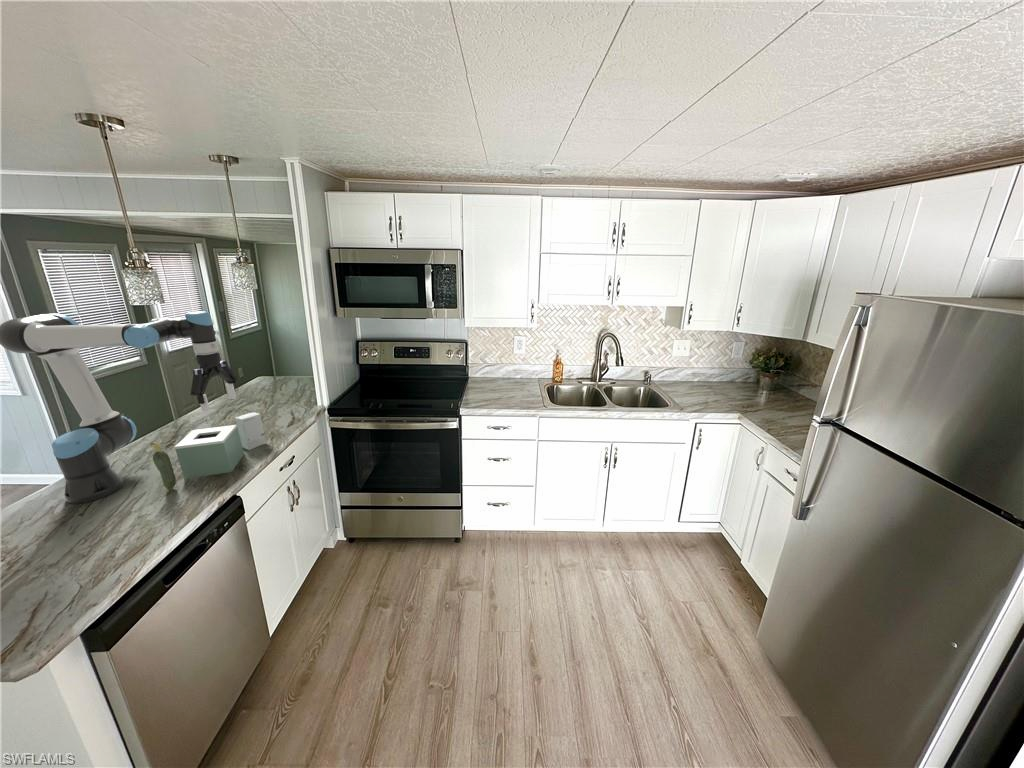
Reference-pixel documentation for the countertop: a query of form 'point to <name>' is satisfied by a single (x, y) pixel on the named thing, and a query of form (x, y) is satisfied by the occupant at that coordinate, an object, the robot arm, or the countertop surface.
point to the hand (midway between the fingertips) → (219, 404)
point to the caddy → (209, 451)
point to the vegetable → (164, 466)
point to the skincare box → (250, 430)
